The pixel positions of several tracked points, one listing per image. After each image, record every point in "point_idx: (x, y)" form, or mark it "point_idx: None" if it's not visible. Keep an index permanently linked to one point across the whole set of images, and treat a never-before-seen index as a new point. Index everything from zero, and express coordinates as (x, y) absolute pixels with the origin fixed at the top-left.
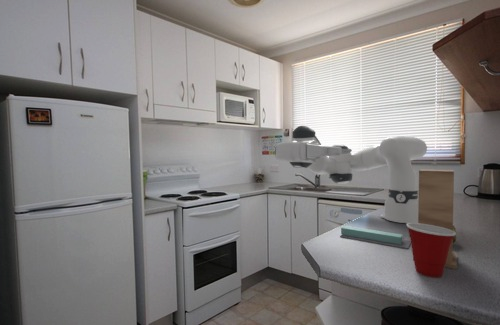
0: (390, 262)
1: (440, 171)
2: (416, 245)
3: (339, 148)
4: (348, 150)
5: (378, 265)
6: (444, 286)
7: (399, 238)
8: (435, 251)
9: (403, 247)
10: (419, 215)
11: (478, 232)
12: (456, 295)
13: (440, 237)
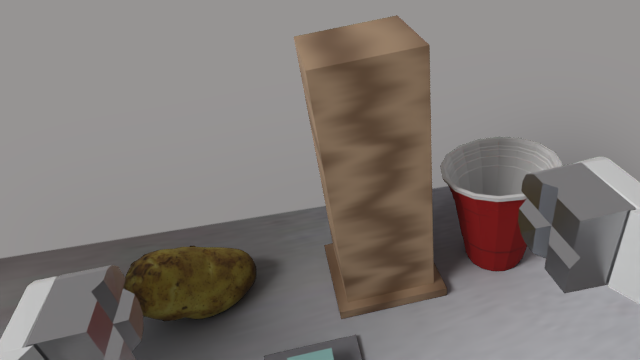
0: (522, 323)
1: (407, 26)
2: None
3: (613, 163)
4: (118, 287)
5: (581, 333)
6: None
7: (332, 354)
8: None
9: (358, 347)
10: (431, 187)
11: (31, 277)
12: None
13: (527, 151)
